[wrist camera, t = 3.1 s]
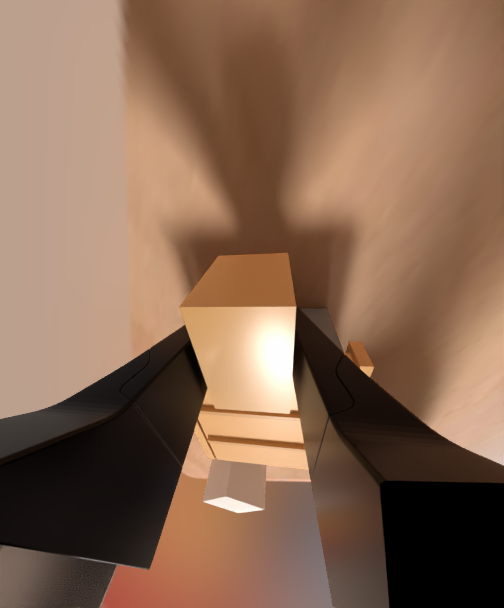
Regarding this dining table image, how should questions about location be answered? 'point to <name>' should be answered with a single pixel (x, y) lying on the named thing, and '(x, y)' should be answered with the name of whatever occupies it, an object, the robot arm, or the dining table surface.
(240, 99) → the dining table surface
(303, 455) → the lid
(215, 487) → the white cube
